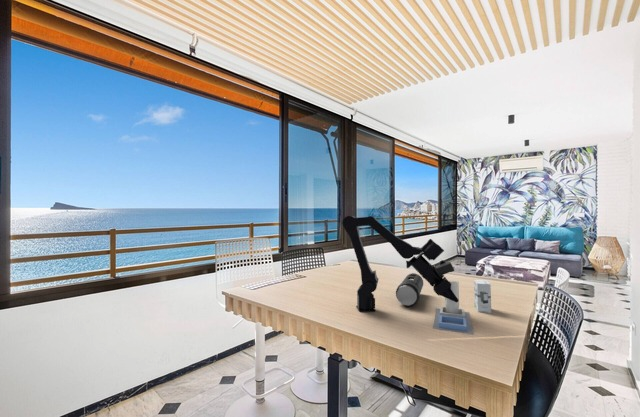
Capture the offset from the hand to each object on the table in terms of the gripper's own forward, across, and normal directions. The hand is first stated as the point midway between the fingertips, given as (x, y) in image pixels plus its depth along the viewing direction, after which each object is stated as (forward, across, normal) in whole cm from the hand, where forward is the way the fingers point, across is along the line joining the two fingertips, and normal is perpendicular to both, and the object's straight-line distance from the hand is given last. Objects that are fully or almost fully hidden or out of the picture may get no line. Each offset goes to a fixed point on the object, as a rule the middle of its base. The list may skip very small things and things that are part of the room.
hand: (456, 299), depth 109 cm
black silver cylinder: (-6, +19, +16) cm, 25 cm away
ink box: (+13, +10, -4) cm, 17 cm away
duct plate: (+3, -6, +6) cm, 9 cm away
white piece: (+3, 0, +5) cm, 6 cm away
